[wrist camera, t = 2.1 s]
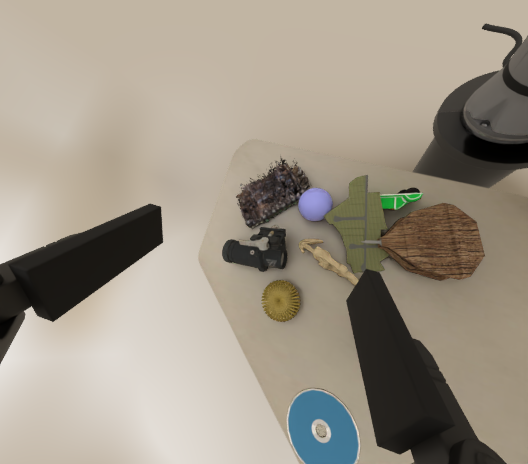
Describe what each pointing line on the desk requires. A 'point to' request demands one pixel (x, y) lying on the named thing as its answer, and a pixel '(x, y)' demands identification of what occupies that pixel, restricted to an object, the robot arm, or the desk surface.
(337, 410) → the disc
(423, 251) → the wooden sandwich slab
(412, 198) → the toy car
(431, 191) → the desk surface
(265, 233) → the scope
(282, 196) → the dark brown fibrous block
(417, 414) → the robot arm
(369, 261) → the map
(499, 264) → the desk surface
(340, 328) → the desk surface
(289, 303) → the sculpture
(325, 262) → the toy
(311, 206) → the sphere
